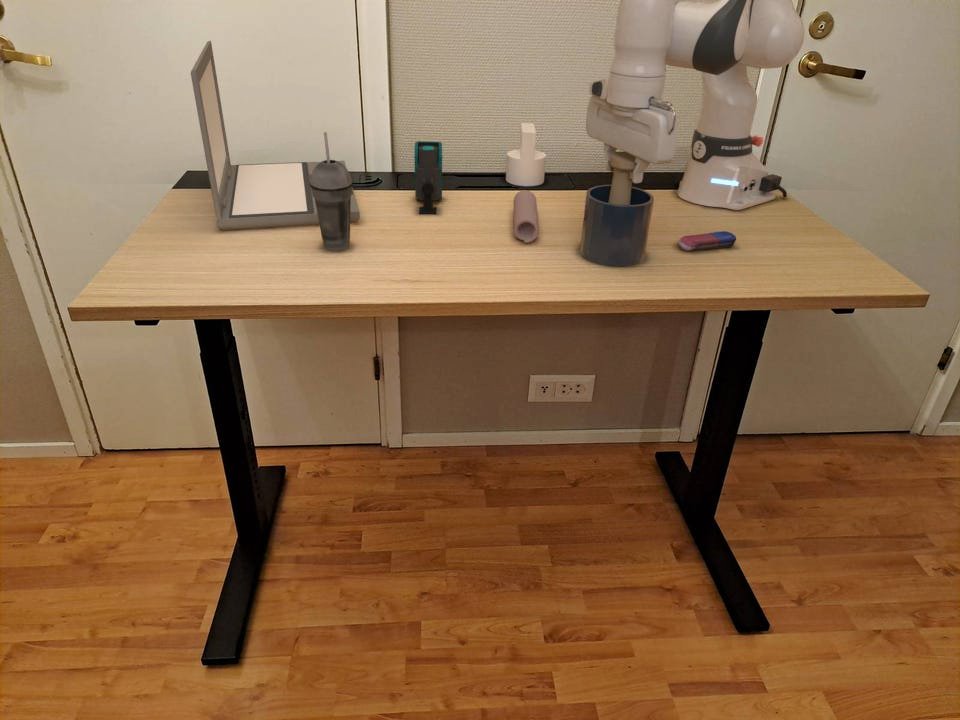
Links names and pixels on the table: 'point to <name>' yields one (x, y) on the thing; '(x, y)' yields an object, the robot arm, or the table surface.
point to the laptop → (250, 170)
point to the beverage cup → (332, 201)
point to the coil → (525, 216)
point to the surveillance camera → (428, 174)
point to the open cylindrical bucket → (615, 227)
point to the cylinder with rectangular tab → (526, 160)
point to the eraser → (707, 241)
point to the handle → (621, 177)
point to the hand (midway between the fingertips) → (623, 176)
